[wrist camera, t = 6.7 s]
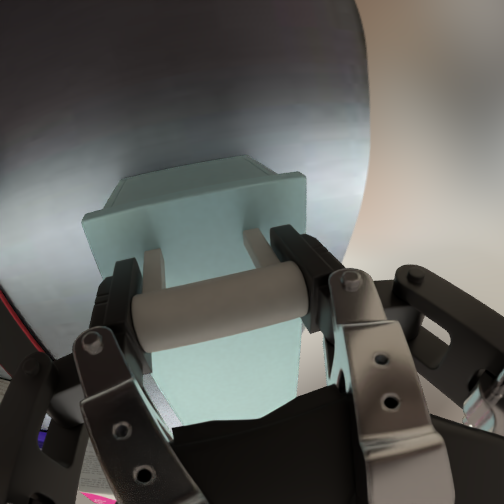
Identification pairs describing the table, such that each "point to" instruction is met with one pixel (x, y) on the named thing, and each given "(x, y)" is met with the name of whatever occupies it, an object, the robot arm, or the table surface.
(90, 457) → the supplement box
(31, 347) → the smartphone
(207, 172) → the cool box
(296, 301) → the cool box lid
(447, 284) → the robot arm
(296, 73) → the table surface
